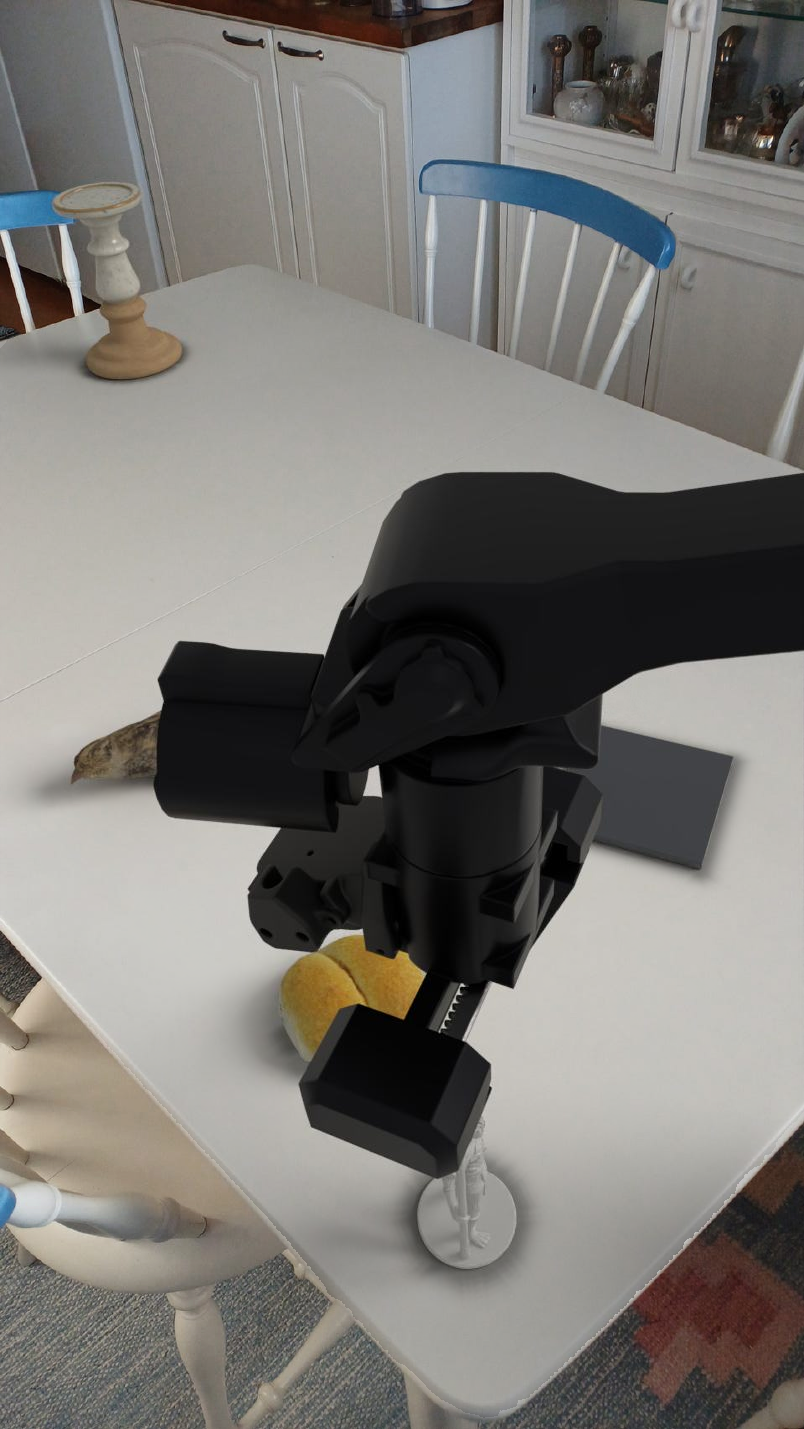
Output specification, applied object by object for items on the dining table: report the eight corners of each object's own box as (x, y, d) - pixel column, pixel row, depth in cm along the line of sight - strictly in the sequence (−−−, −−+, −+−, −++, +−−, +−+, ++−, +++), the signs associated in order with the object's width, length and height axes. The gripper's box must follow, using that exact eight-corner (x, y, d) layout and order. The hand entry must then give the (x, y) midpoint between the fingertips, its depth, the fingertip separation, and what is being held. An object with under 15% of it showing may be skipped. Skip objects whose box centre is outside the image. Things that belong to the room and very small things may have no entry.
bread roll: (450, 1027, 65) (448, 990, 63) (316, 1094, 63) (307, 1058, 60) (389, 929, 71) (384, 892, 68) (263, 987, 68) (253, 951, 66)
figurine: (511, 1275, 55) (513, 1169, 47) (410, 1260, 56) (394, 1154, 48) (520, 1174, 59) (523, 1060, 50) (425, 1161, 59) (413, 1047, 51)
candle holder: (185, 372, 136) (150, 204, 123) (87, 387, 135) (41, 218, 121) (179, 333, 145) (146, 173, 132) (87, 347, 144) (44, 186, 130)
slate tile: (732, 761, 80) (734, 756, 80) (701, 869, 73) (702, 864, 73) (589, 727, 84) (589, 722, 84) (545, 827, 77) (545, 821, 76)
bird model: (81, 807, 76) (53, 745, 77) (86, 822, 82) (60, 764, 83) (341, 695, 83) (313, 639, 84) (329, 717, 89) (302, 664, 89)
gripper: (372, 623, 48) (396, 850, 59) (134, 948, 36) (218, 1161, 46) (616, 678, 44) (595, 910, 55) (443, 1063, 32) (458, 1266, 43)
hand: (471, 1043), depth 50 cm, fingers open, 9 cm apart
